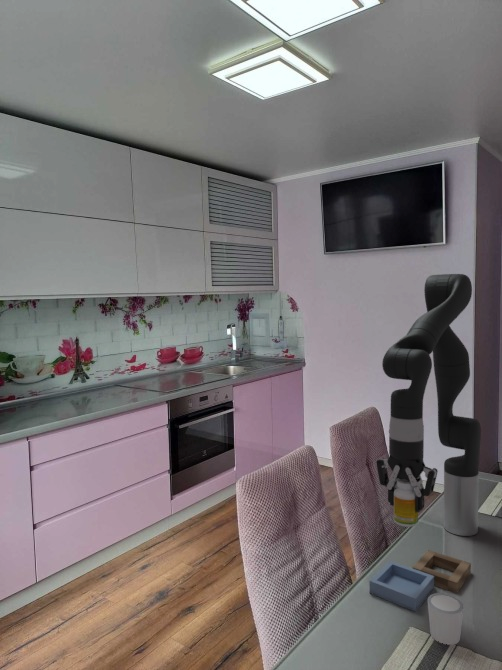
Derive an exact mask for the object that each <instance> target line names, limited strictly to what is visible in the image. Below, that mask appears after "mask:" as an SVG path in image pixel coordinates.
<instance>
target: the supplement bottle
mask: <svg viewBox="0 0 502 670" xmlns="http://www.w3.org/2000/svg"><path fill="white" fill-rule="evenodd" d="M395 488H396V489H395V490H394V506H393V521H394V523H395V524H397V525H398V526H401V527H406V528H408V527H409V528H411V527H415V526H417V525H418V523H419V512H415V496H417V495H416V493H415V490H414V488H413V487H412V485H411V482H410V481H407V480H405V479H398V480H397V484H396V487H395Z"/></svg>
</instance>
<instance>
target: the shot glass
mask: <svg viewBox="0 0 502 670" xmlns="http://www.w3.org/2000/svg"><path fill="white" fill-rule="evenodd" d="M427 610H428V611H427V612H428V621H429V630H430V631H429V632H430V636H431V635H432V636H431V638H432V639H433V640H435V641H436V642H438V641H439V642H438V643H440V644H442V643H443V645H446V644H447V646H453V645H456V644H458V643H459V642H460V641H461V632H462V626H463V615H464V603H463V602H462V600H461V599H459V598H457V597H456V596H454V595H451V594H449V593H444V592H443V593H442V592H435V593H433V594H429V595H428V597H427Z"/></svg>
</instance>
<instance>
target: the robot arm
mask: <svg viewBox="0 0 502 670" xmlns="http://www.w3.org/2000/svg"><path fill="white" fill-rule="evenodd" d="M472 286H473V285H472V282H471V279H470V277H469V276H468V275H466V274H464V273H446V274H445V273H444V274H432V275H429V276H428V277H427V278H426V280H425V282H424V299H425V301H424V302H425V307H426V312H425V313H424V314H422V315H421V316H420V317H418V318H417V319H416V320H415V321H414V323H413V324H412V326H411V327H410V329H409V330H408V331H407V333H406V335H404V336H403V337H402V338H400V339H399V340H397V342H395V343H394V344H392V345H391V346H390V347H389V348H388V350H386V352H385V354H384V356H383V358H382V363H381V364H382V371H383V372H384V374H385V375H386V376H387V377H388V378H390V379H393V380H396V379H397V380H403V381H404V380H405V381H411V383H410V385H409V387H408V388H399V389H396V390H393V391H392V392H391V395H390V418H389V426H388V427H389V428H388V441H389V443H388V453H389V457H388V458H385V457H381V458H379V459H377V460H376V462H375V464H376V469H377V474H378V481H379V485H380V486H385V488H386V489H387V501H388V503H389V505H390V506H393V507H394V490H395V489H396V488H397V480H398V479H405V480H407V481H410V482H411V485H412V487H413V488H414V490H415V493H416V495H417V496H415V512H418V513H420V512H422V511H423V509H424V508H425V496H426V497H429V496H431V494H432V493H434V491H435V490H434V489H435V486H436V485H435V484H436V480H437V477H438V476H437V475H438V472H439V470H438V469H437V468H436V467H433V468H431V467H428V466H426V464H425V462H424V451H425V450H424V449H425V447H424V444H425V443H424V439H425V438H424V437H425V436H424V435H425V427H424V419H423V417H424V412H423V411H424V396H425V392H426V388H427V385H428V381H429V378H430V375H431V372H432V368H433V371H434V372H433V373H434V378H435V379H434V380H435V386H436V397H437V433H438V439H439V442H440V443H441V445H442V446H444V447H448V448H453V449H458V450H462V451H463V450H464V454H461V455H459V456H458V455H457V456H452V457H449V458H447V459H445V460H444V463H443V528H444V529H445V530H446V531H447V532H448V533H451V534H453V535H456V536H461V537H470V536H474V535H476V534H478V532H479V531H478V530H479V528H478V527H479V469H480V468H479V467H480V456H481V455H480V453H481V452H480V450H481V439H482V430H481V429H482V426H481V423H480V421H479V420H478V419H477V418H472V417H465V416H458V415H454V412H453V407H454V403H455V402H456V400H457V398H458V396H459V395H460V393H461V392H462V391H463V390H464V388H465V387H466V385H467V383H468V382H469V380H470V377H471V369H470V355H469V352H468V349H467V348H466V345H465V344H464V343H463V341H461V339H460V338H459V336H458V335H457V334H456V332H454V330H453V329H452V328H451V326H450V325H451V324H452V323H454V321H455V320H456V319H457V318H458V317H459V316H460V315H461V314H462V312H463V311H464V310H465V309H467V306H468V305H469V303H470V301H471V300H472V299H471V298H472V295H473V287H472ZM431 354H432V358H431ZM432 361H433V362H432ZM388 466H389V468H390V470H391V472H392V473H391V474H390V477H389V473H388ZM422 473H424V476H425V478H426V481H425V485H424V484H423V479H422V476H421V474H422Z"/></svg>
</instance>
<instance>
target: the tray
mask: <svg viewBox="0 0 502 670" xmlns="http://www.w3.org/2000/svg"><path fill="white" fill-rule="evenodd" d="M434 589H435V585H434V576H433V575H430V574H427V573H424V572H421V571H418V570H415V569H413V568H412V567H410V566H406V565H404V564H402V563H398V562H394V561H392V560H389V561H388V562H387V563H386V564H385V565H384V566H383V567H381V569H380V570H379V571H378V572H377V573H376V574H375V575H374V576H373V577H371V579H370V580H369V594H371V595H374V596H376V597H379V598H381V599H384V600H386V601H388V602H391V603H393V604H395V605H397V606H401V607H403V608H404V609H408V610H411V611H412V612H418V610H419V608H420V607H421V606H422V604H424V602H425V600H426V599H428V597H429V596H430V595H431V593H432V592H433V591H434Z"/></svg>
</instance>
